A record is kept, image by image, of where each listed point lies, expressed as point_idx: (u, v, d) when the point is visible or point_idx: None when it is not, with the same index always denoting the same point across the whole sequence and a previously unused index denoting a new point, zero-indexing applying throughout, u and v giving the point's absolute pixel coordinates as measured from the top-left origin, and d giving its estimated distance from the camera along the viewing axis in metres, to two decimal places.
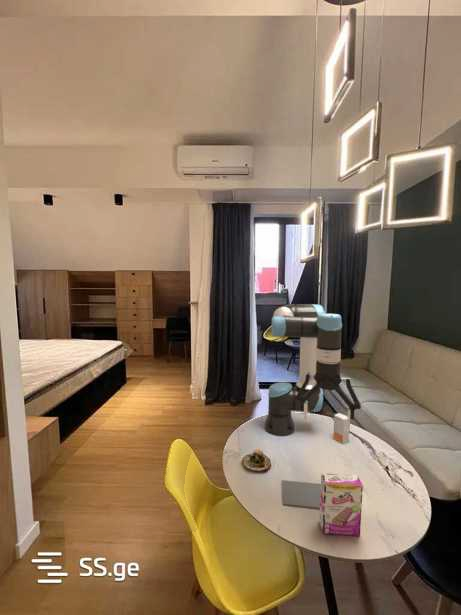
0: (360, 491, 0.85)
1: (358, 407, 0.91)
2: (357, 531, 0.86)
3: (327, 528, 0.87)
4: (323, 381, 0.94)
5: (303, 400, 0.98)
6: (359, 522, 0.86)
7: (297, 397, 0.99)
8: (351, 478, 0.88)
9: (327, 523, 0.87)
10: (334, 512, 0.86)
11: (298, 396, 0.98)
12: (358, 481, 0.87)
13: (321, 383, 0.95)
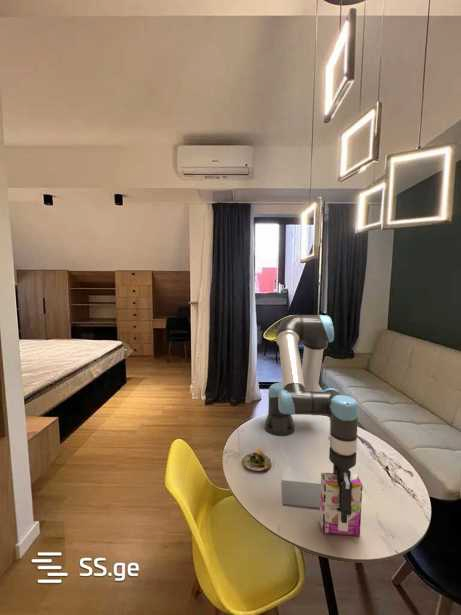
0: (360, 490, 0.86)
1: (341, 511, 0.83)
2: (357, 531, 0.86)
3: (327, 527, 0.87)
4: (334, 465, 0.89)
5: None
6: (359, 521, 0.86)
7: None
8: (351, 477, 0.88)
9: (327, 522, 0.87)
10: (334, 511, 0.86)
11: None
12: (358, 480, 0.87)
13: (334, 468, 0.90)
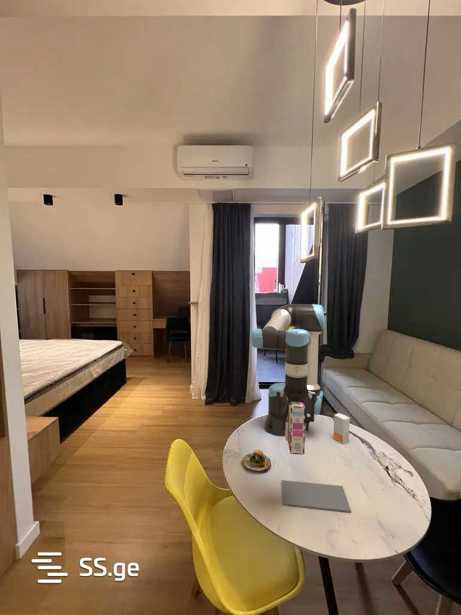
0: None
1: (312, 420, 1.00)
2: None
3: None
4: (292, 393, 0.99)
5: (284, 419, 1.01)
6: None
7: (279, 417, 1.01)
8: None
9: None
10: None
11: (279, 416, 1.01)
12: None
13: (292, 396, 0.99)
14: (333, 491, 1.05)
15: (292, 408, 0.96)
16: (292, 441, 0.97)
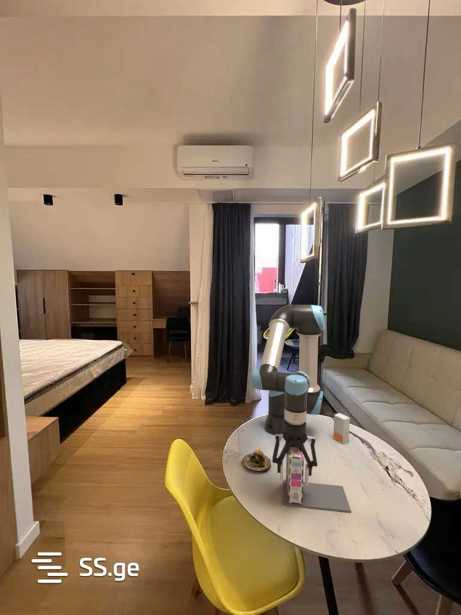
0: None
1: (315, 465, 1.01)
2: None
3: None
4: (291, 440, 1.01)
5: (280, 463, 1.03)
6: None
7: (274, 460, 1.03)
8: None
9: None
10: None
11: (274, 459, 1.03)
12: None
13: (290, 442, 1.01)
14: (333, 491, 1.05)
15: (291, 459, 0.97)
16: (290, 491, 0.98)
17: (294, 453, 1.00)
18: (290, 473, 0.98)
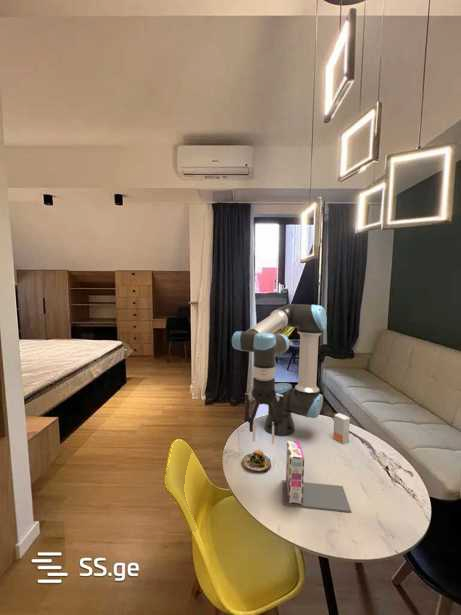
0: None
1: (281, 422, 1.01)
2: None
3: None
4: (260, 396, 1.01)
5: (251, 421, 1.03)
6: None
7: (246, 419, 1.03)
8: (292, 444, 1.06)
9: None
10: None
11: (246, 418, 1.03)
12: (295, 441, 1.07)
13: (259, 399, 1.01)
14: (333, 491, 1.05)
15: (291, 459, 0.97)
16: (291, 491, 0.98)
17: (295, 453, 1.00)
18: (290, 473, 0.98)
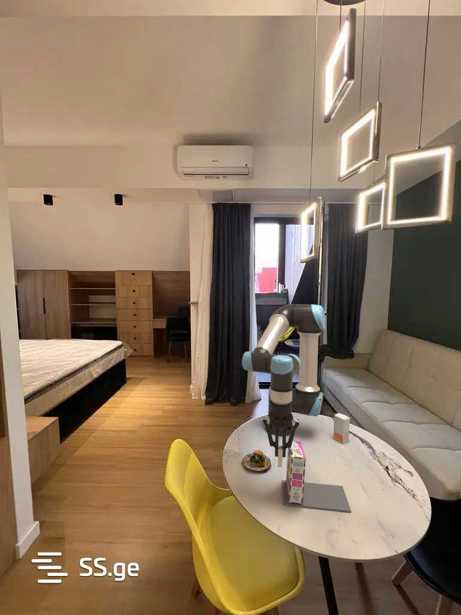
0: None
1: (289, 446, 1.02)
2: None
3: None
4: (277, 420, 1.01)
5: (277, 446, 1.02)
6: None
7: (271, 444, 1.02)
8: (294, 443, 1.06)
9: None
10: None
11: (271, 442, 1.02)
12: (296, 441, 1.07)
13: (277, 422, 1.01)
14: (333, 491, 1.05)
15: (293, 458, 0.97)
16: (291, 490, 0.98)
17: (296, 453, 1.00)
18: (291, 473, 0.98)
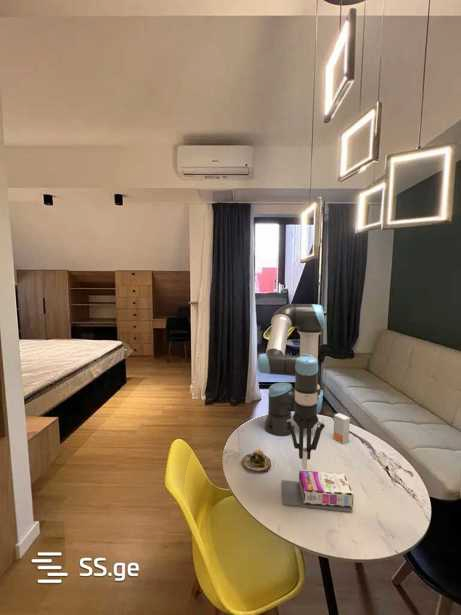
0: None
1: (314, 448, 1.00)
2: None
3: None
4: (302, 421, 1.00)
5: (301, 448, 1.01)
6: None
7: (295, 446, 1.01)
8: None
9: None
10: None
11: (295, 444, 1.01)
12: None
13: (302, 424, 1.00)
14: None
15: (351, 495, 0.97)
16: (317, 493, 0.98)
17: None
18: (336, 494, 0.97)
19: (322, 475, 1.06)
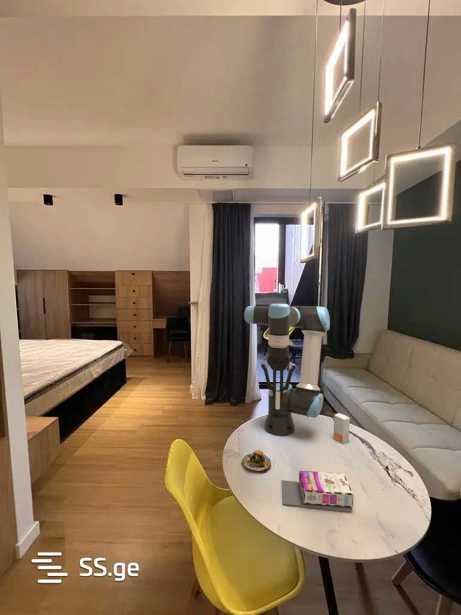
0: None
1: (286, 388, 1.07)
2: None
3: None
4: (275, 363, 1.06)
5: (274, 389, 1.08)
6: None
7: (269, 387, 1.08)
8: None
9: None
10: None
11: (269, 385, 1.08)
12: None
13: (275, 366, 1.06)
14: None
15: (351, 495, 0.97)
16: (317, 493, 0.98)
17: None
18: (336, 494, 0.97)
19: (322, 475, 1.06)
